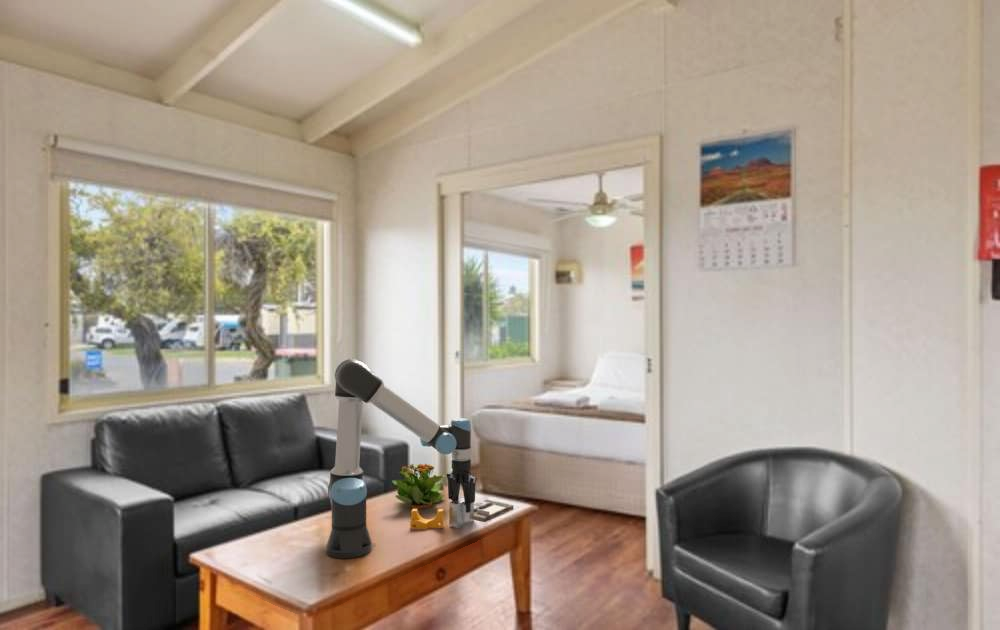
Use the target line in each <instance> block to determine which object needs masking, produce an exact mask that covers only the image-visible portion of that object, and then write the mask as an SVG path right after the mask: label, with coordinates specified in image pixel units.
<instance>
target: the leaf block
mask: <svg viewBox="0 0 1000 630" xmlns="http://www.w3.org/2000/svg"><path fill="white" fill-rule="evenodd" d="M464 503H465V500H464V496H463V497H461V498H459V499H458V500H455V501H452V500H451V501H450V502H448V509H449V511H448V517H449V518H448V519H449V521H448V522H449V523H448V525H449V526H448V527H450V526H451V527H452V528H455V529H459V528H461V527H463V526H465V525H468V524H470V523H474V520H475V519H474V504H475V502H473V503H471V511H470V512H469V520H468V521H465V522H464V521H463V504H464Z"/></svg>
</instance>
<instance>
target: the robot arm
mask: <svg viewBox="0 0 1000 630" xmlns="http://www.w3.org/2000/svg"><path fill="white" fill-rule="evenodd" d="M334 379H335V386H334V387H335V388H334V389H335V390H334V396H335V398H336V399H337V400H338V409H337V410H338V412H337V428H336V429H337V430H336V445H335V462H334V467H333V468H332V469H331V470H330V474H329V475H330V476H329V483H328V487H327V495H328V498H329V500H330V506H331V507H330V508H331V530H330V534H329V536H328V537H329V538H328V541H327V544H326V547H325V548H326V556H328V557H330V558H334V559H339V560H341V559H342V560H343V559H355V558H358V557H362V556H366V555H367V554H369V553H370V552H371V551H372V548H373V543H372V539H371V537H370V536H371V535H370V533H369V529H368V527H367V526H368V525H367V493H368V489H367V485H366V482H365V481H364V480H363V478H364V470H363V469H362V468H361V466H360V459H361V458H360V457H361V443H362V442H361V441H362V439H361V438H362V423H363V407H364V403H365V404H369V403H370V404H372V405H373V406H374V407H376V408H377V409H379V410H380V411H382V412H383V413H384V414H385V415H387V416H389V417H390V418H392V420H394V421H396V422H397V423H398V424H400V425H401V426H402V427H404V428H405V429H407V430H408V431H410V432H411V433H412V434H414V435H415V436H416V437H418V438H420V439H419V440H420V444H421V446H423V447H428V448H430V447H432V448H433V449H435V450H436V451H437V452H438V453H439V454H441V455H449V454H451V469H452V471H451V472H449V473H447V474H446V479H447V494H448V499H449V500H451V502H452V501H455V500H458V499H460V498H459V497H460V496H459V495H460V492H461V491H460V490H461V487H462V492H463V497H464V500H465V503H464V504H463V521H464V522H465V521H468V520H469V512H470V511H471V503H473V502H474V503H476V482H477V479H478V478H477V477H476V476H473V475H472V473H471V469H472V460H471V458H472V446H471V442H472V439H471V437H472V428H471V421H470V420H469V418H466V417H465V418H464V417H457V418H452V419H451V422H450V424H446V425H445V424H444V425H439V424H438V423H437V422H435V421H433V420H432V419H431V418H429V417H428V416H427V415H425V414H424V413H423V412H421V411H420V410H419V409H418V408H416V407H414V406H413V405H412V404H411V403H410V402H408V401H406V400H405V399H404V398H402V397H401V396H399V395H398V394H397V393H396V392H394V391H393V390H391V389H390V388H389V387H387V386H386V385H385V383H384V380H383V379H381V378H380V377H379V376H378V375H376V374H375V373H374V371H372V369H370V368H369V366H368V365H367V364H365V363H364V362H363V361H362V360H359V359H354V358H352V359H351V358H350V359H345V360H343V361H342V362H340V364H338V365H337V367H336V369H335V372H334Z"/></svg>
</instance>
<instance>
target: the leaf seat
mask: <svg viewBox="0 0 1000 630" xmlns="http://www.w3.org/2000/svg"><path fill="white" fill-rule="evenodd" d="M494 501H495V500H494ZM508 504H509V503H507V502H501V501H497V500H496V501H495V505H493V506H491V507H489V508H486V509H484V510H481V509H477V513H480V514H484V515H488V516H489V515H491V514H494V513H496V512H498V511H501V510H503V509H505V508H507V507H508Z"/></svg>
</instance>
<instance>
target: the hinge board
mask: <svg viewBox="0 0 1000 630" xmlns="http://www.w3.org/2000/svg"><path fill="white" fill-rule="evenodd" d="M507 504H508V507H507V508H505V509H503V510H501V511H498V512H496V513H494V514H491V515H489V516H488V515H484V514H480V513H477V509H481V510H484V509H486V508H489V507H491V506H493V505H495V500H490V499H485V500H481V501H478V502H474V520H477V521H482V522H486V521H488V520H490V519H493V518H495V517H496V516H499V515H501V514H504V513H506V512H508V511H510V510H513V509H514V505H513V504H509V503H507Z"/></svg>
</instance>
